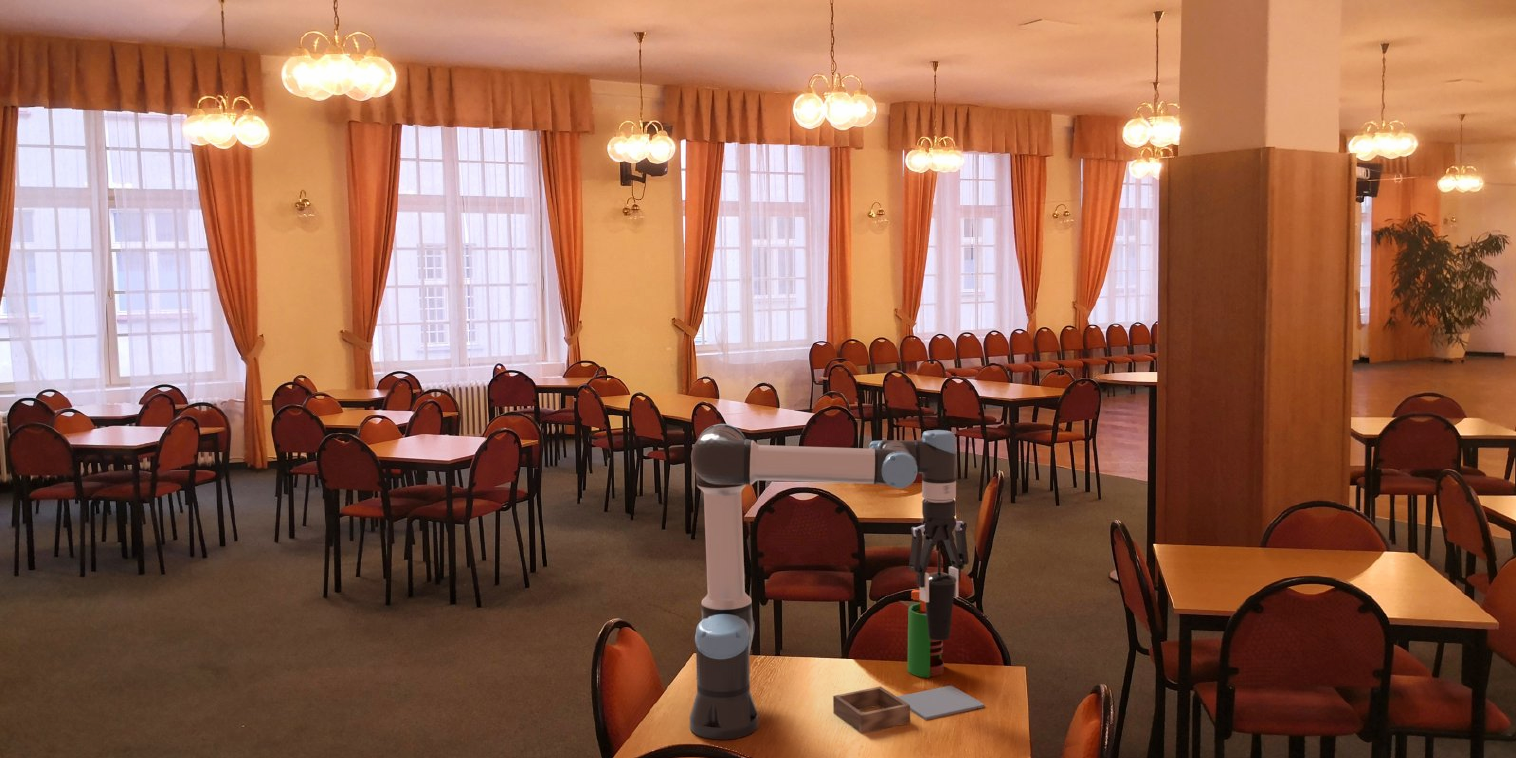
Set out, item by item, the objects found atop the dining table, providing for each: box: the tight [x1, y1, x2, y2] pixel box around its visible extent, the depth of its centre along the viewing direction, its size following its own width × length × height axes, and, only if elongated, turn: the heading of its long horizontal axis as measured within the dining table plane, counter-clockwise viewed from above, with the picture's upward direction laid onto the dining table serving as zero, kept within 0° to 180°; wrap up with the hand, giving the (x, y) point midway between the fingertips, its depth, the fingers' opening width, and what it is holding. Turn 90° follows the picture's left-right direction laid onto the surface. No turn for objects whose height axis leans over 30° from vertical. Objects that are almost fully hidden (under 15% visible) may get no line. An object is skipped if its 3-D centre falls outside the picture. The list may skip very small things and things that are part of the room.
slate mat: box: [897, 685, 986, 721], centre depth 257 cm, size 16×13×1 cm
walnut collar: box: [832, 686, 911, 734], centre depth 249 cm, size 12×12×4 cm
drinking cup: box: [925, 550, 956, 641], centre depth 254 cm, size 8×8×20 cm
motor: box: [907, 589, 945, 679], centre depth 277 cm, size 10×9×20 cm
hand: (938, 598), depth 254 cm, fingers closed on drinking cup, 7 cm apart
